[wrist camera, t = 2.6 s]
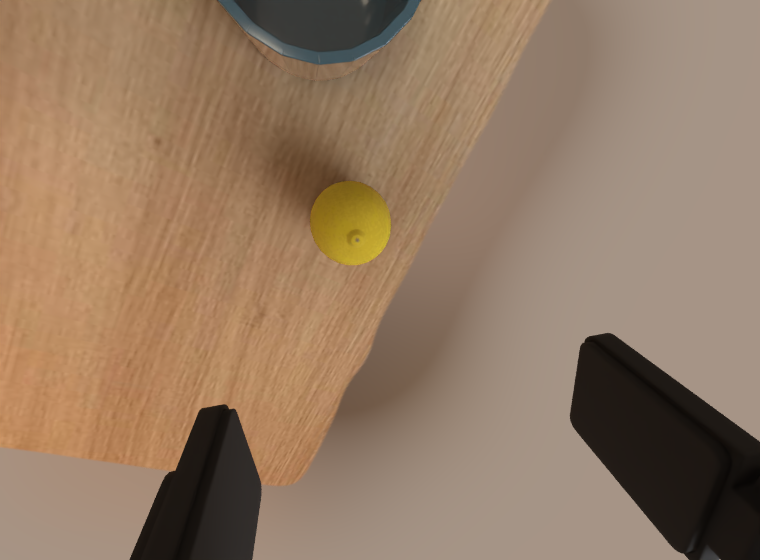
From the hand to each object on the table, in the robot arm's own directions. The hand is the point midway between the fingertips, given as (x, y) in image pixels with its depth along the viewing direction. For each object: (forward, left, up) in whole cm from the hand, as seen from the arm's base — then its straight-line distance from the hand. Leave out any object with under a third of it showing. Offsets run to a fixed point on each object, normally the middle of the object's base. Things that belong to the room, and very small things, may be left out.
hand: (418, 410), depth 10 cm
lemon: (0, 0, -22) cm, 22 cm away
